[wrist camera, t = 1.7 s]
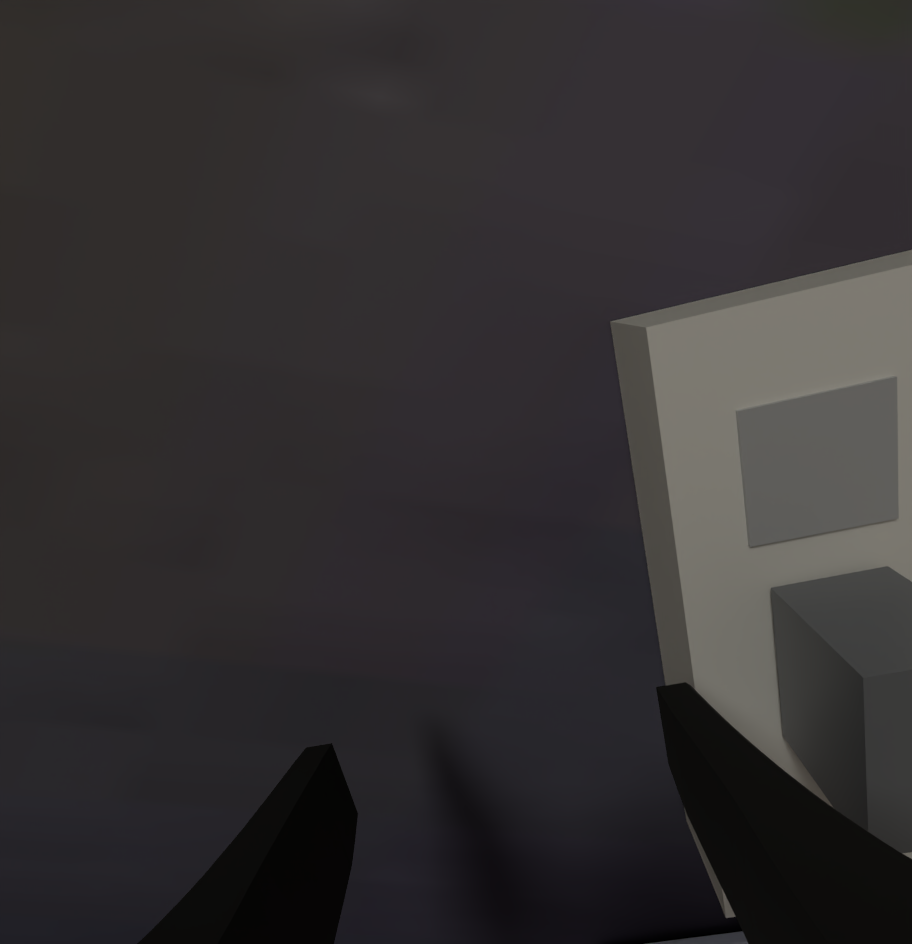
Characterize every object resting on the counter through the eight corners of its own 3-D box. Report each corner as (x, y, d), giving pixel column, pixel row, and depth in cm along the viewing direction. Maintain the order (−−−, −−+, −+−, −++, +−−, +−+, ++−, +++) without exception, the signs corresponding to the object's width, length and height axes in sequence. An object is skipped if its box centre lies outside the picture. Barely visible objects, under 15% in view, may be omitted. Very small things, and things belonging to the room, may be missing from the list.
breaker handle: (890, 719, 13) (1008, 838, 10) (782, 736, 13) (868, 857, 10) (887, 566, 12) (1019, 650, 9) (770, 588, 12) (862, 677, 9)
